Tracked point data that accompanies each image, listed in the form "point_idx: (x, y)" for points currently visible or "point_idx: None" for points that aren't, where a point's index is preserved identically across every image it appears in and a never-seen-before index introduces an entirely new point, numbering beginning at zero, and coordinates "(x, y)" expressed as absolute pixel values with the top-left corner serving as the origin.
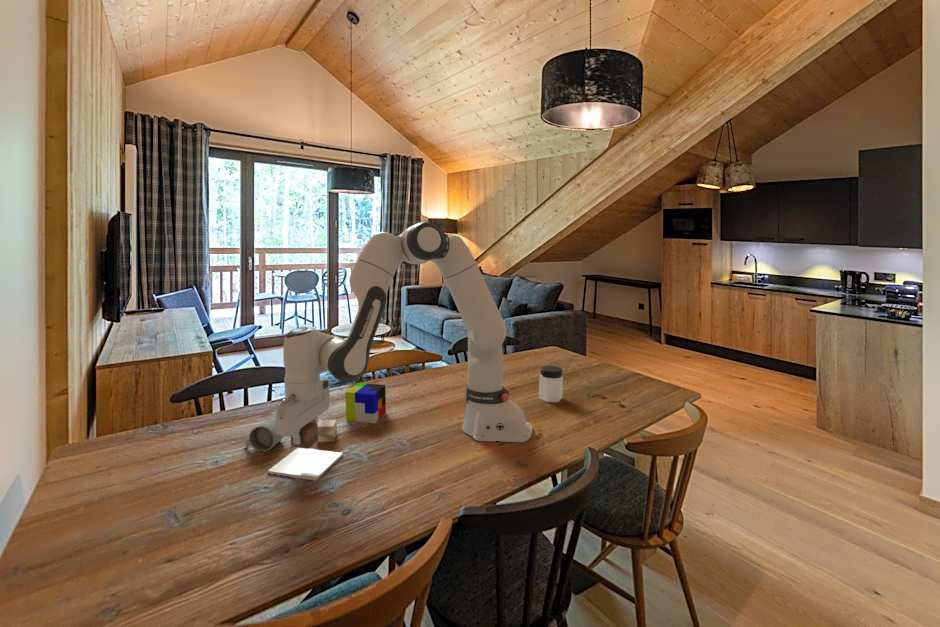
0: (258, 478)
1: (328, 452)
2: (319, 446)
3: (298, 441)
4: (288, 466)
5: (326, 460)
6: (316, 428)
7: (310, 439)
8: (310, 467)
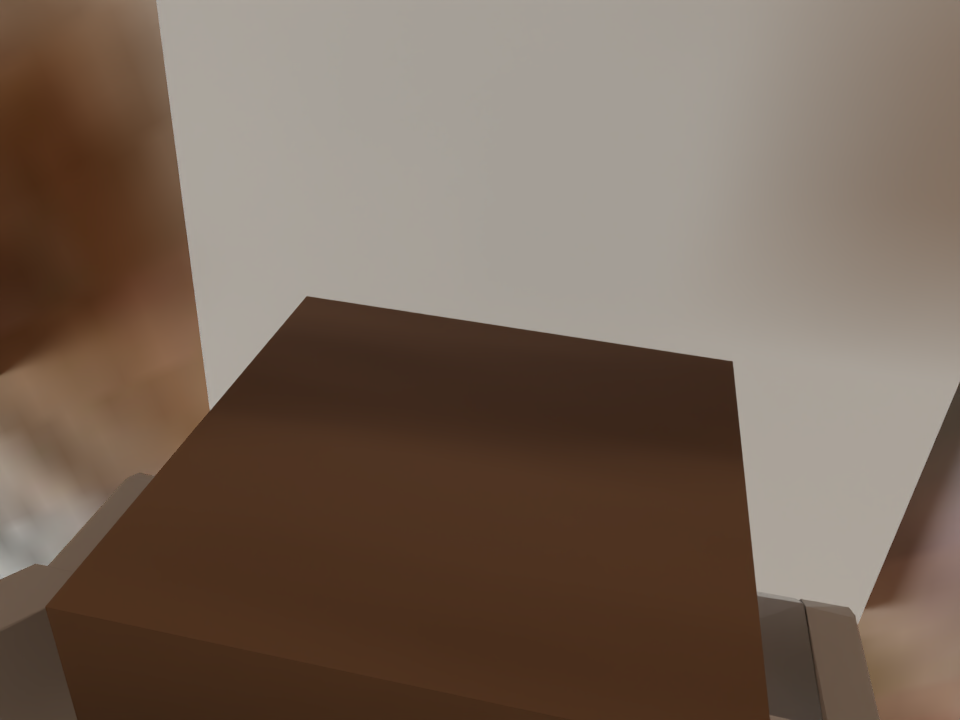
0: (957, 661)
1: (209, 94)
2: (71, 310)
3: (861, 677)
4: None
5: (463, 2)
6: (209, 518)
7: (604, 452)
8: (738, 170)
